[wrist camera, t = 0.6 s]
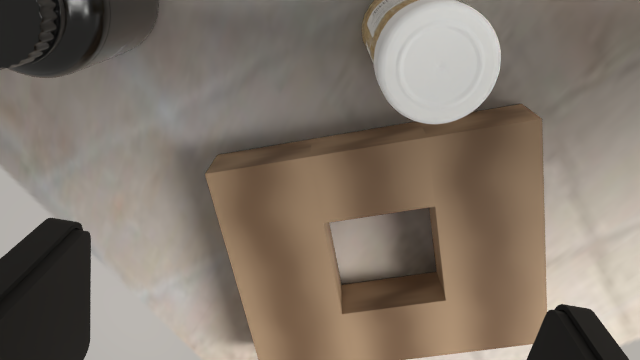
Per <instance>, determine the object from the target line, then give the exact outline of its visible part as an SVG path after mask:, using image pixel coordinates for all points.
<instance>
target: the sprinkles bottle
mask: <svg viewBox="0 0 640 360" xmlns="http://www.w3.org/2000/svg"><path fill="white" fill-rule="evenodd" d="M362 36H363V42H364V44H365V46H366V48H367V50H368V53H369V55H370V57H371V60H372V62H373V64H374V71H375V76H376V79H377V82H378V84H379V87H380V89H381V91H382V93H383V94H384V96H385V98H386V99H387V101H388V102H389V103H390V105H391V106H392V107H393V108H394V109H395V110H397V111H398V112H399V113H400V114H402V115H403V116H405V117H407V118H409V119H411V120H413V121H416V122H420V123H425V124H443V123H449V122H453V121H455V120H458V119H460V118H463V117H465V116H467V115H468V114H470V113H471V112H473V111H474V110H475V109H476V108H478V107H479V106H480V105H481V104H482V103H483V102H484V101H485V99H486V98H487V97H488V96H489V94H490V93H491V91H492V89H493V87H494V85H495V83H496V80H497V78H498V75H499V71H500V64H501V50H500V45H499V41H498V38H497V35H496V33H495V31H494V29H493V27H492V26H491V24H490V23H489V21H488V20H487V19H486V18H485V17H484V16H483V15H482V14H481V13H479V12H478V11H477V10H475V9H474V8H472V7H470V6H468V5H466V4H464V3H461V2H459V1H456V0H374V1H373V2H372V3H371V5H370V7H369V8H368V10H367V12H366V13H365V15H364V19H363V23H362Z"/></svg>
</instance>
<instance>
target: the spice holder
mask: <svg viewBox="0 0 640 360" xmlns="http://www.w3.org/2000/svg"><path fill="white" fill-rule="evenodd" d="M205 176H206V180H207V183H208V187H209V190H210V194H211V197H212V200H213V204H214V207H215V211H216V214H217V218H218V221H219V225H220V228H221V232H222V235H223V239H224V242H225V245H226V249H227V252H228V256H229V259H230V263H231V266H232V270H233V273H234V277H235V280H236V283H237V287H238V290H239V294H240V297H241V301H242V304H243V308H244V311H245V315H246V318H247V321H248V325H249V328H250V332H251V335H252V339H253V342H254V346H255V349H256V353H257V356H258V359H259V360H406V359H414V358H422V357H430V356H439V355H447V354H455V353H463V352H471V351H480V350H488V349H496V348H504V347H512V346H520V345H529V344H533V343H534V341H535V339H536V336H537V334H538V332H539V329H540V327H541V324H542V322H543V320H544V317H545V315H546V313H547V297H546V257H545V217H544V177H543V137H542V118H540V117H539V116H538V115H536V114H535V113H534V112H532V111H531V110H530V109H528V108H527V107H526V106H524V105H523V104H517V105H511V106H506V107H500V108H494V109H488V110H482V111H476V112H471V113H470V114H468V115H467V116H465V117H463V118H460V119H458V120H455V121H453V122H449V123H443V124H425V123H420V122H410V123H404V124H398V125H392V126H386V127H380V128H374V129H368V130H362V131H357V132H351V133H345V134H339V135H333V136H327V137H321V138H315V139H309V140H303V141H297V142H291V143H285V144H279V145H273V146H267V147H261V148H255V149H249V150H243V151H237V152H231V153H225V154H219V155H217V156H216V158H215V159H214V161H213V162H212V164H211V165H210V167H209V169H208V170H207V172H206V173H205ZM422 208H429V212H430V220H431V229H432V237H433V246H434V254H435V263H436V271H437V272H432V273H425V274H417V275H410V276H403V277H396V278H388V279H381V280H374V281H367V282H360V283H352V284H345V285H341V280H340V275H339V270H338V265H337V260H336V255H335V250H334V245H333V240H332V235H331V230H330V225H329V222H336V221H342V220H349V219H356V218H362V217H369V216H376V215H382V214H389V213H396V212H402V211H409V210H415V209H422Z"/></svg>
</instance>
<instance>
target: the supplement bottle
mask: <svg viewBox="0 0 640 360" xmlns="http://www.w3.org/2000/svg"><path fill="white" fill-rule="evenodd" d="M158 6H159V0H0V70H1V69H5V68H8V69H10V70H13V71H15V72H17V73H20V74H24V75H27V76H32V77H39V78H53V77H60V76H64V75H68V74H71V73H74V72H77V71H79V70H82V69H85V68H87V67H90V66H92V65H95V64H97V63H100V62H103V61H105V60H108V59H110V58H113V57H115V56H118V55H120V54H123V53H125V52H127V51H130V50H132V49H133V48H135V47H137V46H138V45H139V44H141V43H142V42H143V41H144V40H145V39H146V38H147V37H148V35H149V34H150V32H151V31H152V29H153V27H154V24H155V22H156V19H157V14H158Z"/></svg>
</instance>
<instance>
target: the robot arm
mask: <svg viewBox="0 0 640 360" xmlns="http://www.w3.org/2000/svg"><path fill="white" fill-rule="evenodd" d="M90 258H91V237H90V233H89V232H88V231H83V228H82V225H81V224H80V223H79V222H73V221H67V220H61V219H55V218H48V219H46V220H45V221H44V222H43V223H42V224H40V225H39V226H38V227H37V228H36V229H34V230H33V231H32V232H31V233H30V234H29V235H27V236H26V237H25V238H24V239H23V240H22V241H21V242H19V243H18V244H17V245H16V246H15V247H14V248H12V249H11V250H10V251H9V252H8V253H7V254H6V255H5V256H3V257H2V258H1V259H0V360H83V359H84V357H85V356H86V353H87V351H88V347H89V343H90V272H91V268H90V267H91V259H90ZM527 360H629V359H628V357H627V356H626V355H625V354H624V352H623V351H622V349H621V348H620V347H619V345H618V344H617V343H616V341H615V340H614V339H613V337H612V336H611V335H610V333H609V332H608V331H607V329H606V328H605V327H604V325H603V324H602V323H601V321H600V320H599V319H598V317H597V316H596V315H595V313H594V312H593V311H592V310H590V309H587V308H581V307H575V306H569V305H563V304H561V305H558V306H557V307H556V308H555V310H549V311H548V312H547V313H546V315H545V317H544V320H543V322H542V324H541V327H540V329H539V332H538V334H537V336H536V339H535V341H534V343H533V346H532V348H531V351H530V353H529V355H528V358H527Z"/></svg>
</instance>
